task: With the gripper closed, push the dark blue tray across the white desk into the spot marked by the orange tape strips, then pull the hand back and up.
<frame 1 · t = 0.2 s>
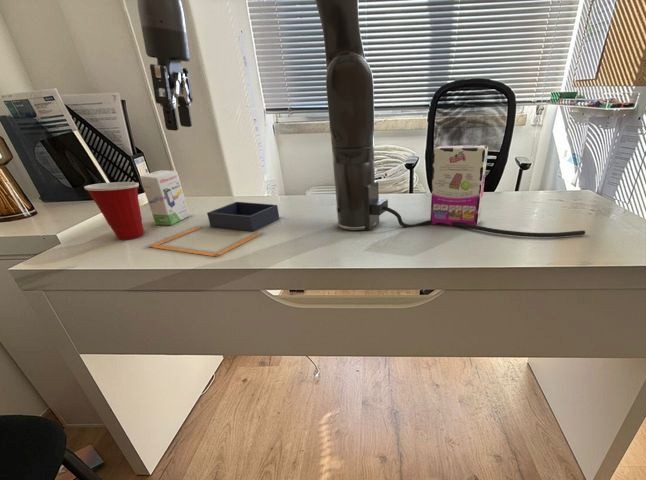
hand: (179, 128, 80), 22 cm above the table, tool pointing down, fingers open, 8 cm apart
tape marks: (207, 240, 89), on the table
dark blue tray: (245, 222, 99), on the table
candy bar box: (454, 224, 92), on the table
plastic cup: (132, 236, 94), on the table
ink box: (173, 221, 104), on the table
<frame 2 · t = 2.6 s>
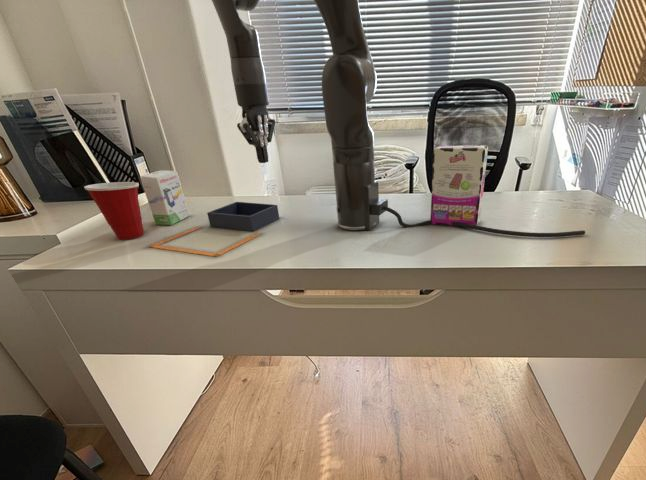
hand: (263, 162, 101), 12 cm above the table, tool pointing down, fingers closed
nothing on the table moved.
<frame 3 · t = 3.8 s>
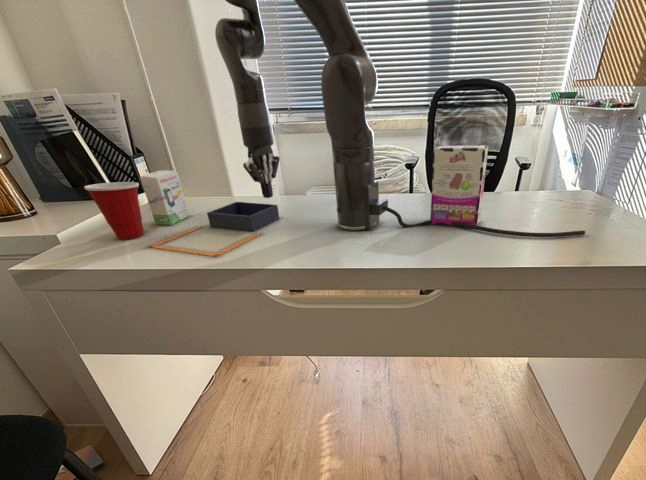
hand: (268, 197, 106), 4 cm above the table, tool pointing down, fingers closed
nothing on the table moved.
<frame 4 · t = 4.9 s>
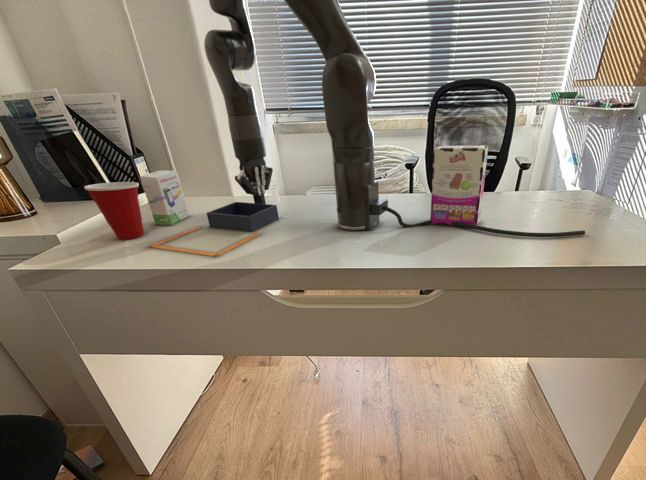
hand: (261, 209, 104), 2 cm above the table, tool pointing down, fingers closed
dark blue tray: (245, 222, 99), on the table, touching gripper
everything else where it was.
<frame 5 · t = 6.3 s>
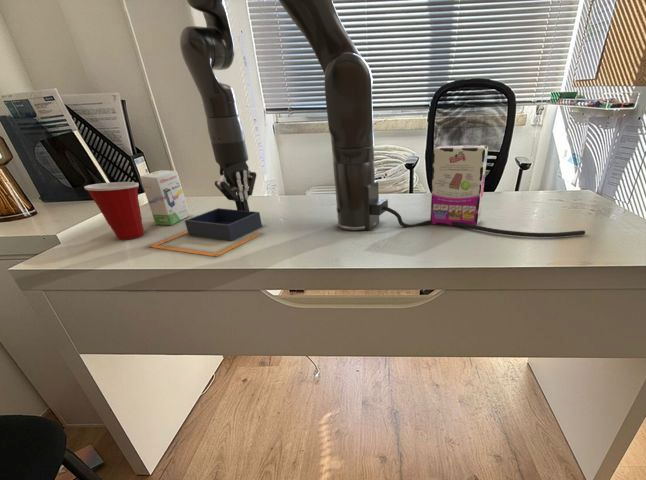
hand: (244, 215, 99), 2 cm above the table, tool pointing down, fingers closed
dark blue tray: (226, 230, 94), on the table, touching gripper
everything else where it was.
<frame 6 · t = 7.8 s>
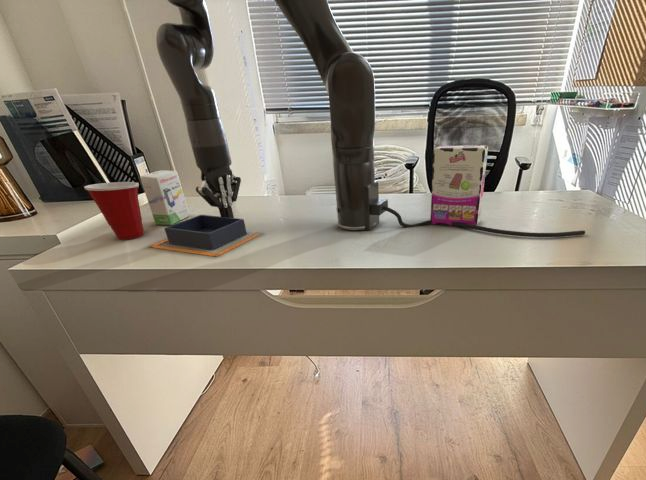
hand: (228, 222, 94), 2 cm above the table, tool pointing down, fingers closed
dark blue tray: (208, 238, 90), on the table, touching gripper
everything else where it was.
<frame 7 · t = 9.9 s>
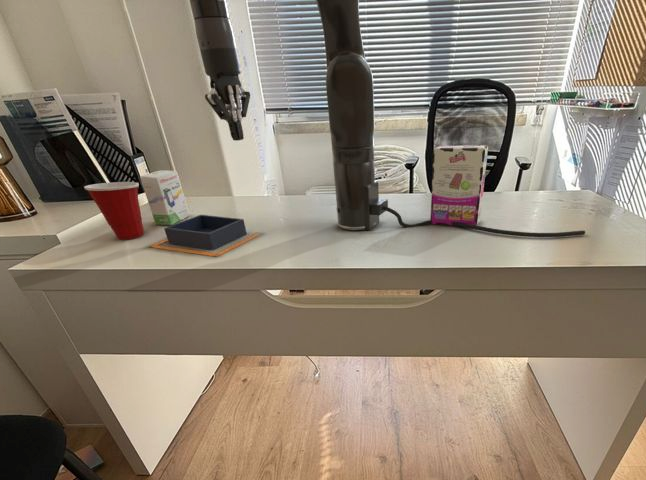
hand: (238, 139, 91), 18 cm above the table, tool pointing down, fingers closed
dark blue tray: (208, 238, 90), on the table
everything else where it was.
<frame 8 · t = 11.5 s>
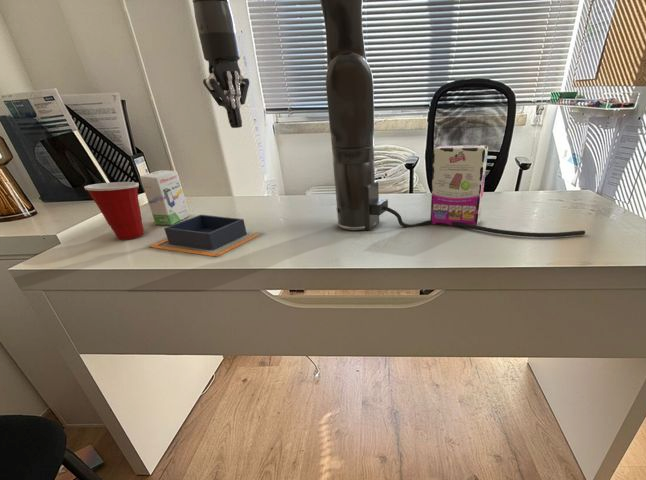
hand: (236, 127, 90), 21 cm above the table, tool pointing down, fingers closed
nothing on the table moved.
at the end: dark blue tray 1.0 cm from the target spot, on the table; dark blue tray moved 13.1 cm from its start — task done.
